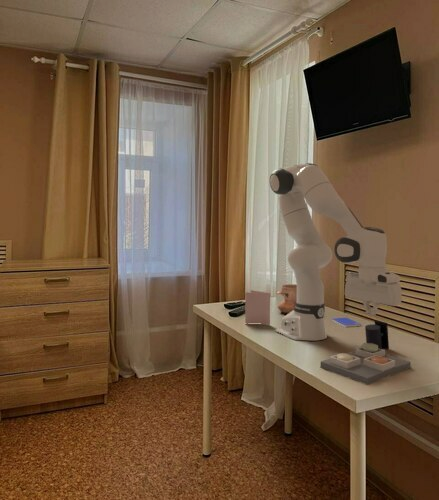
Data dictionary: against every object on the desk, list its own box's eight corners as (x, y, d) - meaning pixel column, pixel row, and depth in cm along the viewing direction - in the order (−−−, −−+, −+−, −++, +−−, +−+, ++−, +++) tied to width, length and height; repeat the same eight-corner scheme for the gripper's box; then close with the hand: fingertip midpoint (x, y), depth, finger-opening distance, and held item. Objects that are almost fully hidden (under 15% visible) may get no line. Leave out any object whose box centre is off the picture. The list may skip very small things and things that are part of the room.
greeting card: (271, 324, 196) (271, 293, 195) (261, 328, 191) (261, 295, 189) (251, 320, 204) (252, 289, 203) (241, 323, 199) (241, 292, 197)
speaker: (380, 343, 166) (379, 318, 165) (389, 349, 161) (388, 323, 159) (362, 347, 165) (361, 321, 163) (371, 352, 159) (370, 326, 157)
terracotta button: (367, 364, 138) (367, 358, 137) (376, 361, 141) (376, 355, 140) (381, 368, 134) (381, 362, 133) (390, 365, 137) (390, 359, 136)
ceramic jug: (279, 316, 212) (280, 288, 211) (273, 309, 227) (273, 283, 225) (314, 316, 214) (315, 288, 213) (305, 309, 229) (306, 283, 227)
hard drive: (361, 323, 194) (347, 317, 206) (345, 324, 192) (332, 318, 204) (361, 327, 194) (347, 320, 206) (345, 328, 192) (332, 321, 204)
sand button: (333, 361, 140) (334, 356, 140) (343, 358, 143) (343, 353, 143) (346, 366, 136) (346, 360, 136) (356, 363, 139) (356, 357, 139)
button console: (320, 367, 141) (320, 355, 141) (363, 353, 156) (364, 342, 155) (367, 384, 127) (367, 371, 127) (410, 367, 141) (410, 355, 141)
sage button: (359, 350, 148) (359, 344, 148) (368, 347, 151) (368, 342, 151) (372, 354, 144) (372, 348, 144) (380, 351, 147) (381, 345, 147)
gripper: (341, 272, 152) (340, 310, 153) (394, 279, 135) (392, 321, 136) (352, 270, 155) (351, 307, 157) (404, 277, 139) (403, 318, 140)
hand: (370, 314), depth 146 cm, fingers closed
